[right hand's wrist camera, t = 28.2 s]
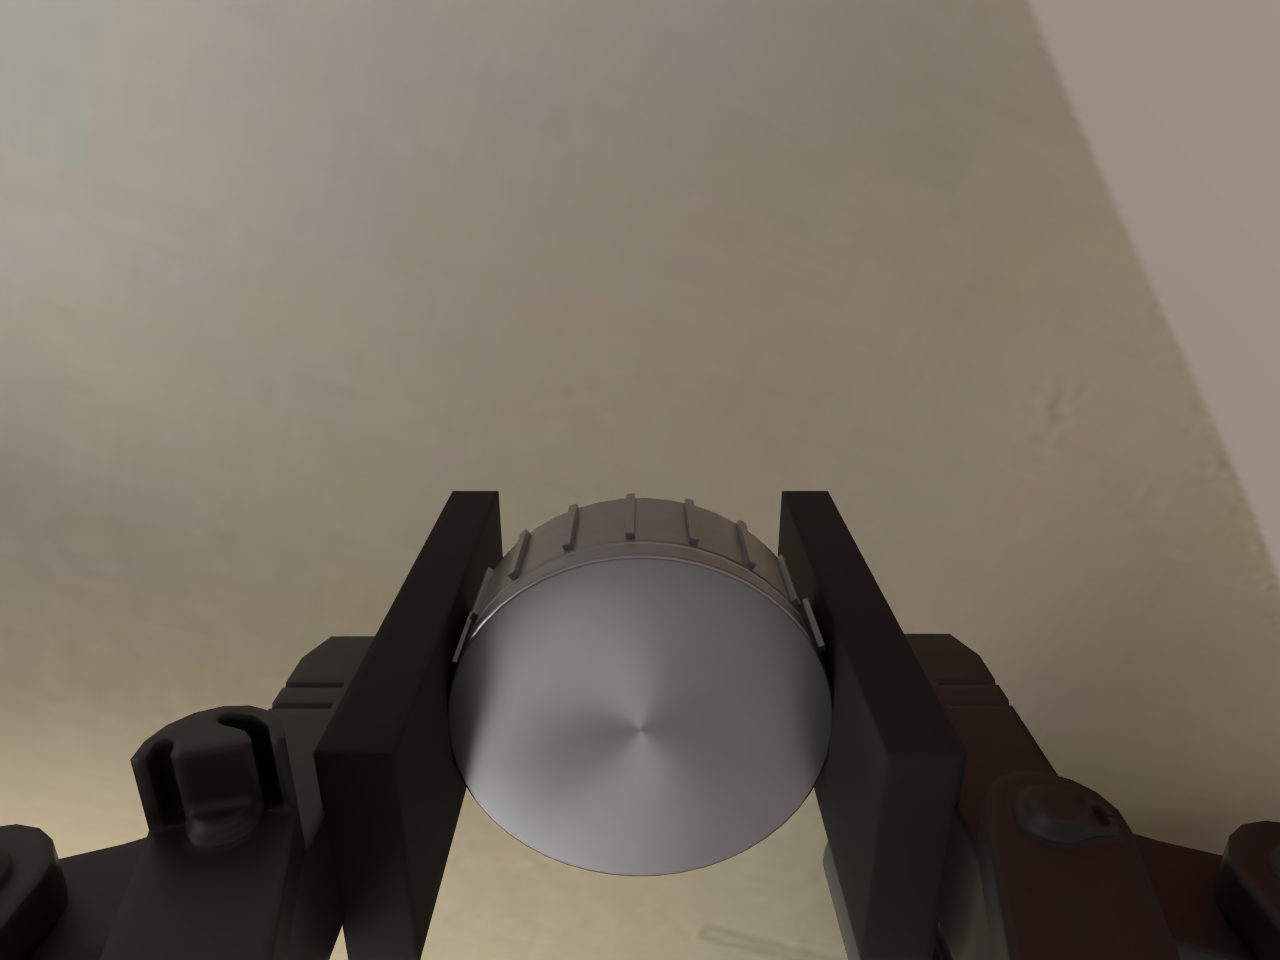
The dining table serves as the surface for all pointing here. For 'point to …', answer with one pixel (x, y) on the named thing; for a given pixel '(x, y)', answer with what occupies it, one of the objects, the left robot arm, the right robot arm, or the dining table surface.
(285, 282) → the dining table surface
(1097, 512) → the dining table surface
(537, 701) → the lid
